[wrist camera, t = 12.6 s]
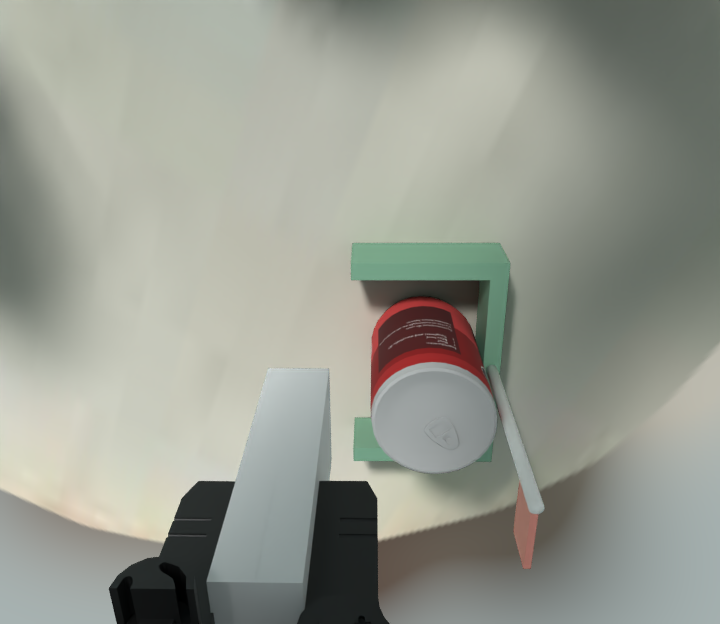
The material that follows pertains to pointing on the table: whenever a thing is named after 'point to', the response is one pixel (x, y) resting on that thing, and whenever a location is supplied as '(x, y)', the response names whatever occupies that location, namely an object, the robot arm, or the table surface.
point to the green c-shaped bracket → (493, 288)
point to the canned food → (429, 388)
